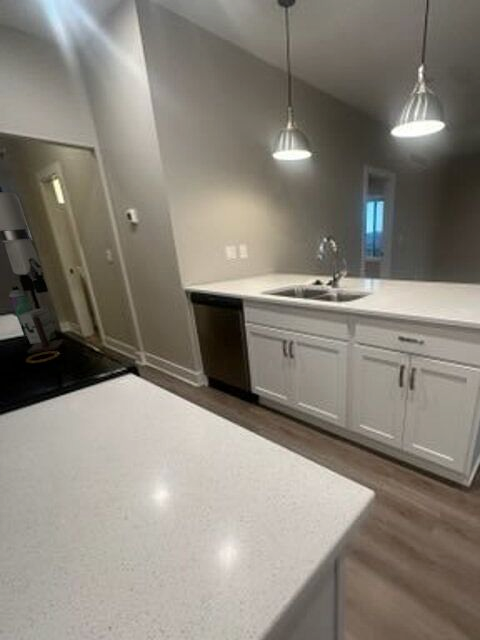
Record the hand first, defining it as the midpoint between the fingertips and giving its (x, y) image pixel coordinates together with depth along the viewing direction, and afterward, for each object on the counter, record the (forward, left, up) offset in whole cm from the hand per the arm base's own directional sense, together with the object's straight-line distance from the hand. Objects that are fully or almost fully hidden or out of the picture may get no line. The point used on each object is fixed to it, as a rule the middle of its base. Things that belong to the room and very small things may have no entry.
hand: (35, 291), depth 113 cm
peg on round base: (-4, +4, -21) cm, 22 cm away
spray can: (-15, +28, -21) cm, 39 cm away
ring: (-2, -8, -20) cm, 22 cm away
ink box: (-8, +16, -21) cm, 28 cm away
